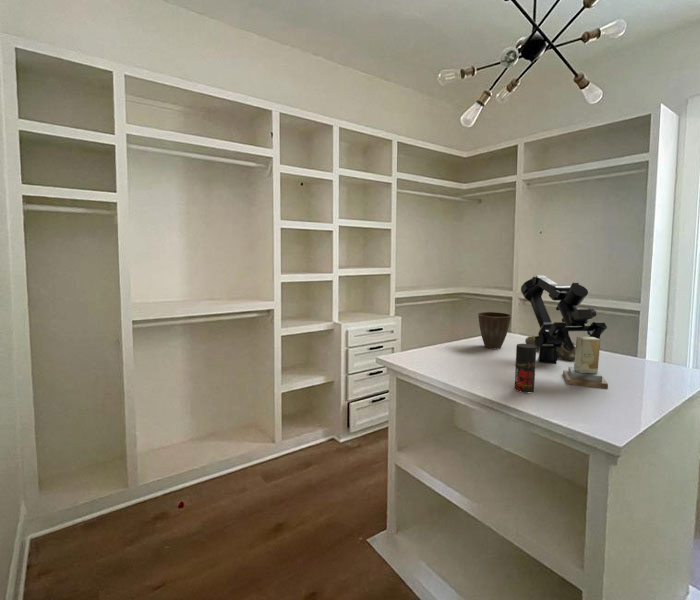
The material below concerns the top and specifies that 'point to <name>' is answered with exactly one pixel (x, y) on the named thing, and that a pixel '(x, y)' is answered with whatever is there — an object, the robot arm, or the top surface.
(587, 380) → the brown picture frame
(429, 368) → the top surface
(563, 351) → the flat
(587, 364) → the skincare box
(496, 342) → the plant pot
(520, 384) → the deodorant
